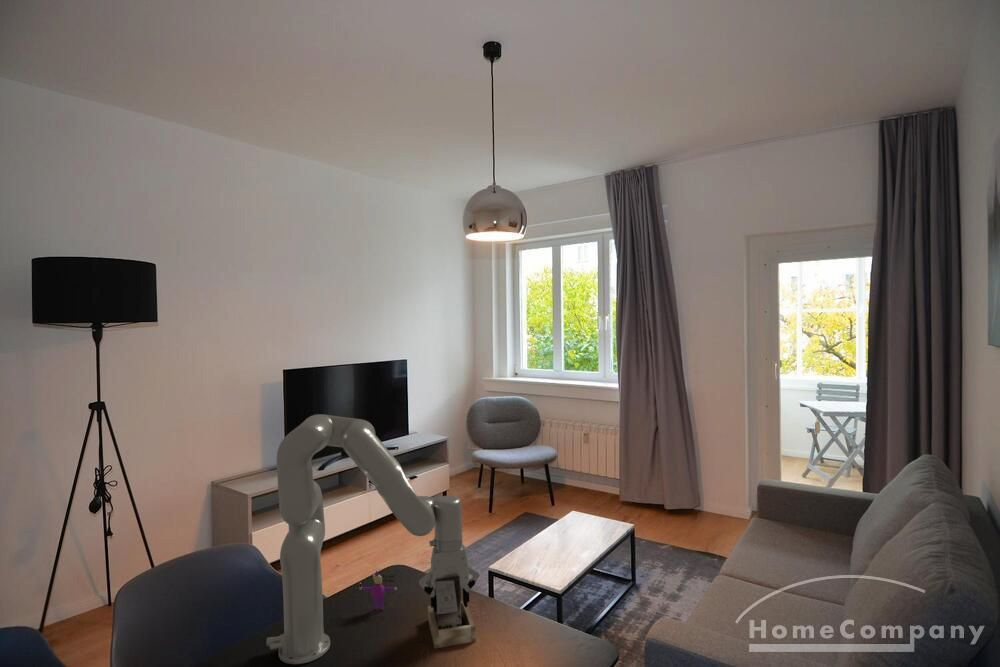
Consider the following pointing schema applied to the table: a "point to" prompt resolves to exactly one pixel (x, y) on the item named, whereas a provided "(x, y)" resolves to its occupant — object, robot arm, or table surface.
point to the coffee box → (448, 603)
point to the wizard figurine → (378, 588)
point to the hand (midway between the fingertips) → (450, 606)
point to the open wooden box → (452, 630)
